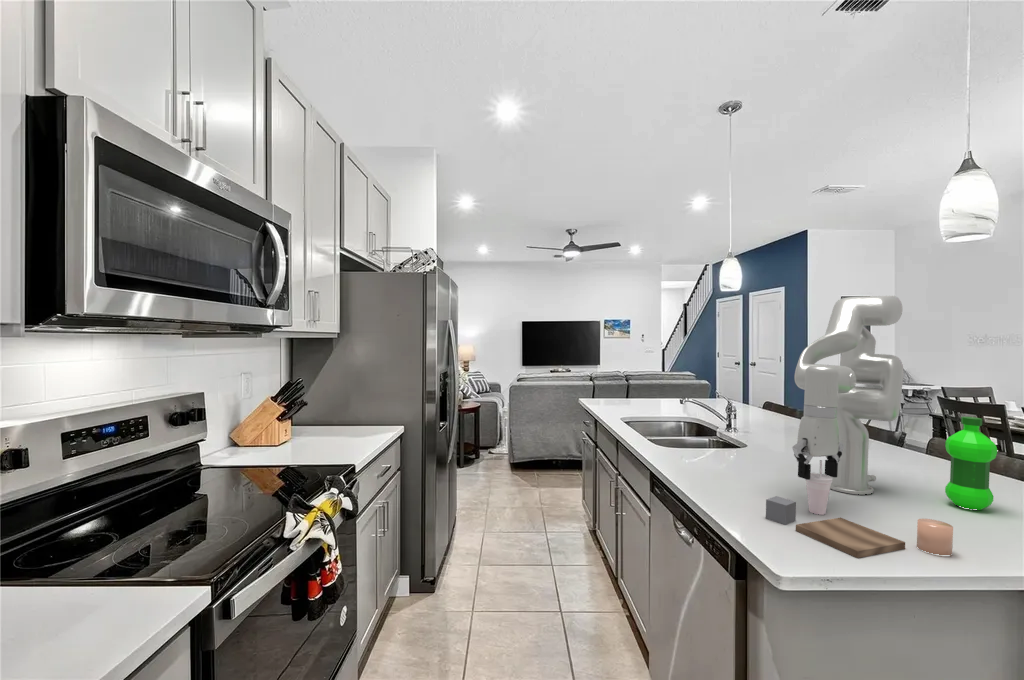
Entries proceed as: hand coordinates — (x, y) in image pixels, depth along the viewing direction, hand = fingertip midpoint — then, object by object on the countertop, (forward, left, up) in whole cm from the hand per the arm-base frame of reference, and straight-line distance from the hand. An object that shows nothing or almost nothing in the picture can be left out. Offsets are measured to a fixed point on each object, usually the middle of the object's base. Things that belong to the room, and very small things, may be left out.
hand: (817, 477), depth 131 cm
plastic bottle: (-45, +10, -10) cm, 47 cm away
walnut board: (+8, +15, -10) cm, 19 cm away
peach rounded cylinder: (-5, +25, -10) cm, 27 cm away
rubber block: (+13, +1, -10) cm, 16 cm away
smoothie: (-1, 0, -10) cm, 10 cm away
